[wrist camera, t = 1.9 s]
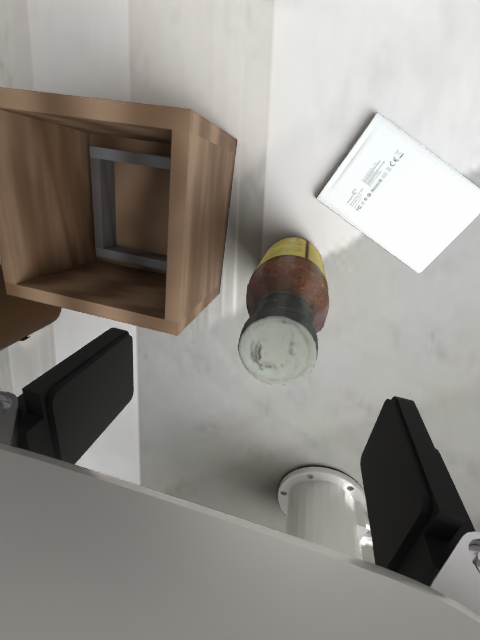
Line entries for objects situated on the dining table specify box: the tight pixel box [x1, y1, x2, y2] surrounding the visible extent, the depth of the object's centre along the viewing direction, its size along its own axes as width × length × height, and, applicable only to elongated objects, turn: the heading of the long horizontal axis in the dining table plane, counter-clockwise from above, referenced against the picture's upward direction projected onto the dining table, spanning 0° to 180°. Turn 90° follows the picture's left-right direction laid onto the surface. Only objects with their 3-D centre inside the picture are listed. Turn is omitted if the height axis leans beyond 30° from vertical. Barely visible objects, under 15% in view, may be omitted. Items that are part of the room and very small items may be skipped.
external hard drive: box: [317, 113, 480, 273], centre depth 28 cm, size 2×8×12 cm
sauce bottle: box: [238, 237, 329, 385], centre depth 24 cm, size 7×6×20 cm
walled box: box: [0, 87, 237, 336], centre depth 29 cm, size 17×16×12 cm
